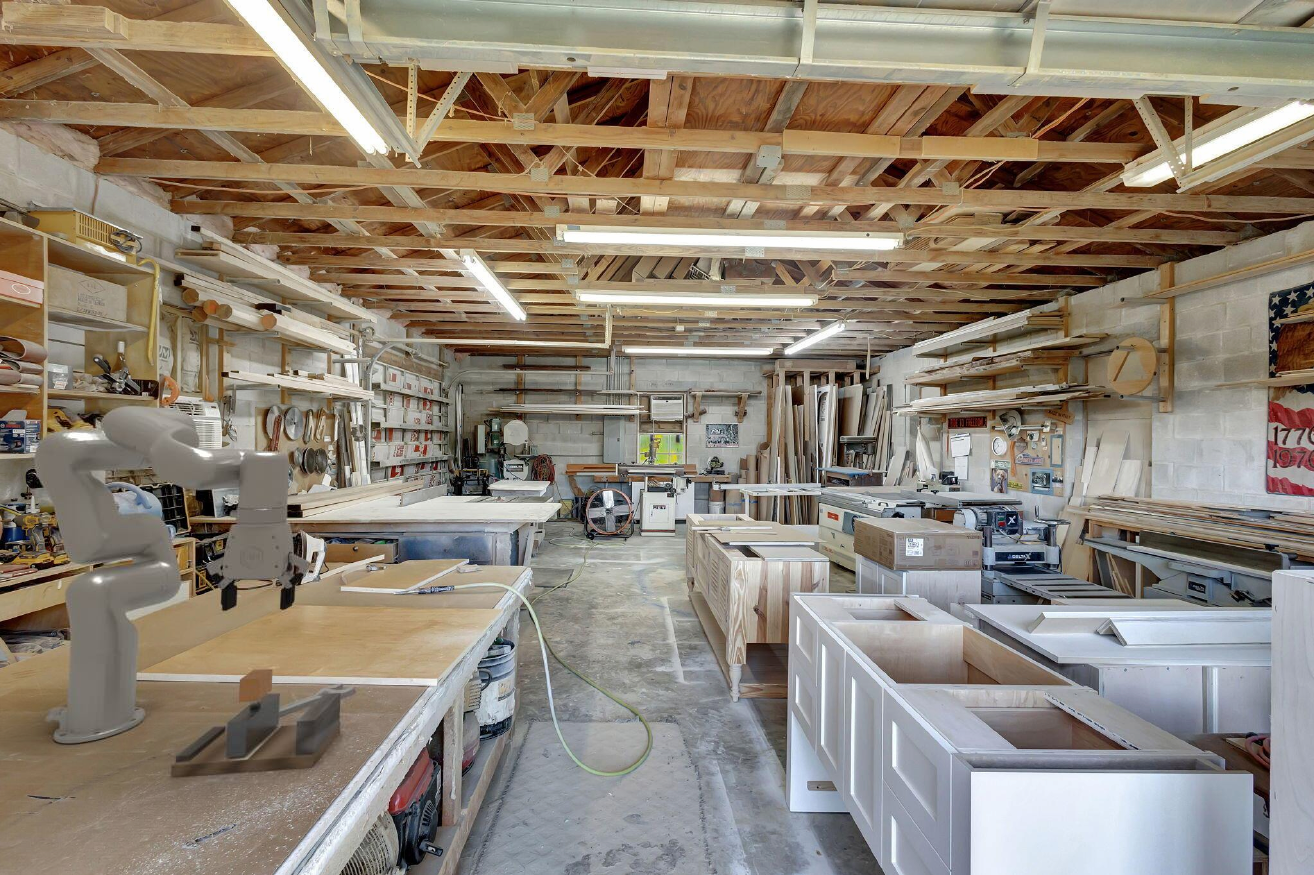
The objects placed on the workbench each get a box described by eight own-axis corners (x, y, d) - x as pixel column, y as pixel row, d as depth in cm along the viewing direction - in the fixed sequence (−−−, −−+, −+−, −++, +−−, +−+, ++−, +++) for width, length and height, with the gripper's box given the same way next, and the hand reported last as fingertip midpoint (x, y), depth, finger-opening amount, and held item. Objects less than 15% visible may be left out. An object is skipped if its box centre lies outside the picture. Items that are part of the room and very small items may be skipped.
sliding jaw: (225, 757, 93) (228, 687, 93) (260, 725, 104) (263, 662, 104) (245, 755, 94) (248, 686, 94) (279, 724, 104) (281, 662, 105)
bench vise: (170, 777, 91) (173, 729, 91) (216, 740, 103) (218, 697, 103) (312, 767, 95) (313, 721, 95) (340, 732, 107) (341, 691, 107)
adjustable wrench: (222, 740, 104) (222, 731, 104) (212, 729, 108) (212, 720, 108) (357, 695, 124) (357, 687, 124) (345, 687, 128) (345, 679, 128)
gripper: (197, 518, 96) (192, 615, 95) (302, 519, 98) (298, 613, 98) (224, 513, 103) (219, 603, 103) (321, 514, 106) (317, 602, 105)
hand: (257, 608), depth 100 cm, fingers open, 9 cm apart
